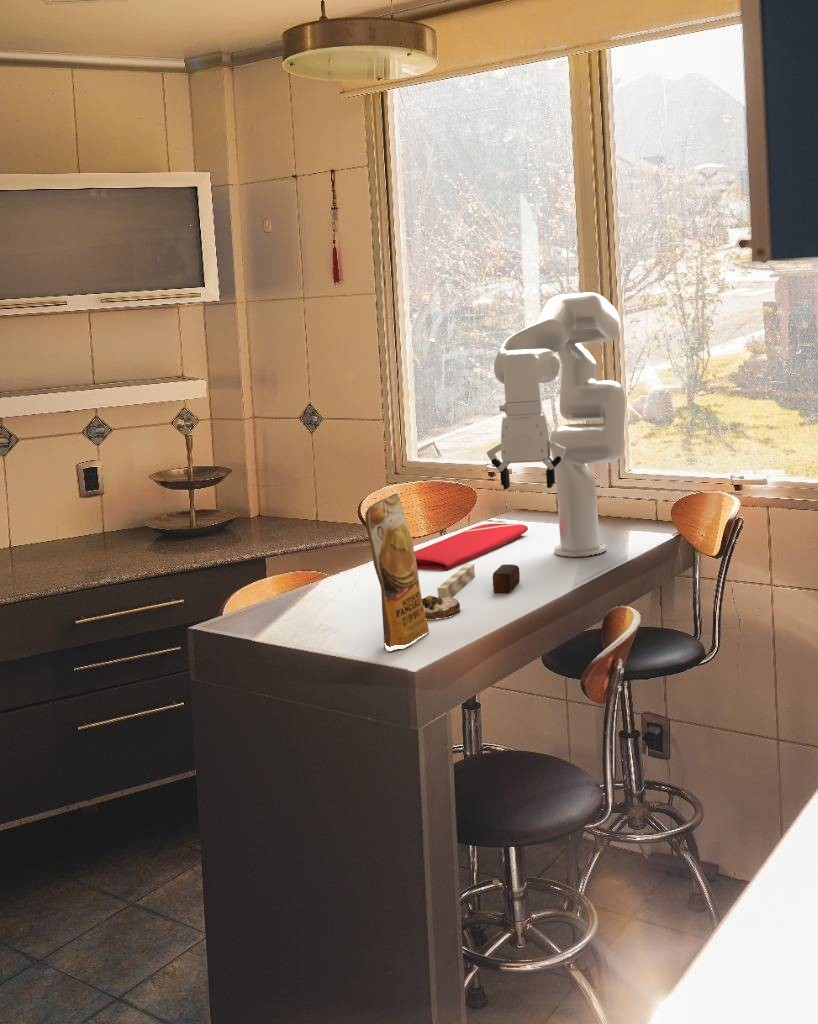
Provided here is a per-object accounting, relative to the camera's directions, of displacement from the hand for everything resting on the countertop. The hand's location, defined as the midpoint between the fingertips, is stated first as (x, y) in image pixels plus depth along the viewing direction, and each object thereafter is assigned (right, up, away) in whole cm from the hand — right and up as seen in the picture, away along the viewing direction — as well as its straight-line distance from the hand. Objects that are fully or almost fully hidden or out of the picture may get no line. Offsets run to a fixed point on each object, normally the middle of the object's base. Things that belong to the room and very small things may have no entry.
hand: (528, 487), depth 262 cm
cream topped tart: (-22, -27, -10) cm, 36 cm away
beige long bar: (-15, -23, +9) cm, 28 cm away
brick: (-4, -22, +6) cm, 24 cm away
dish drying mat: (-11, -16, +48) cm, 52 cm away
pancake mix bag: (-27, -30, -29) cm, 50 cm away
